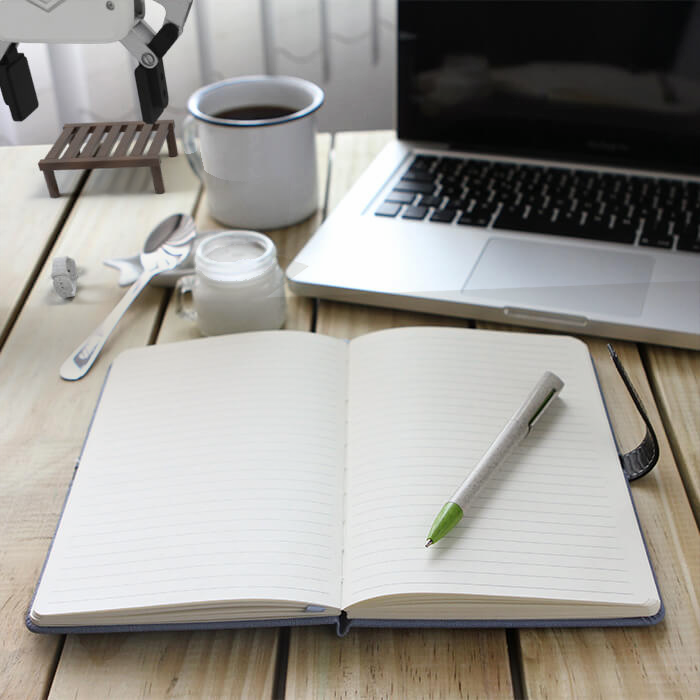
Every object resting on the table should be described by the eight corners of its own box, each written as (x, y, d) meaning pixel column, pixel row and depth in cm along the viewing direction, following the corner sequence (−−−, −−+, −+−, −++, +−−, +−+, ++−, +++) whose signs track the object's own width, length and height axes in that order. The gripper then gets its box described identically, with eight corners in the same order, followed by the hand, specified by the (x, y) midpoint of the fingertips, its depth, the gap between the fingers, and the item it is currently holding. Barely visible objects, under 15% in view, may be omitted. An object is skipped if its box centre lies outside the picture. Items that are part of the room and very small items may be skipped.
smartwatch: (78, 303, 76) (68, 267, 73) (55, 306, 75) (44, 270, 73) (82, 283, 78) (72, 248, 76) (59, 286, 78) (49, 251, 76)
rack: (47, 198, 94) (37, 163, 91) (73, 156, 103) (64, 123, 100) (164, 194, 94) (158, 158, 91) (179, 152, 103) (174, 119, 100)
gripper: (-145, -154, 45) (-48, 134, 55) (151, -156, 43) (193, 139, 54) (-77, -166, 51) (-1, 96, 61) (185, -169, 49) (217, 99, 60)
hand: (90, 116), depth 58 cm, fingers open, 9 cm apart
